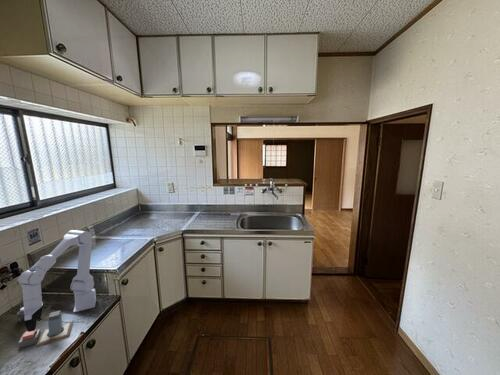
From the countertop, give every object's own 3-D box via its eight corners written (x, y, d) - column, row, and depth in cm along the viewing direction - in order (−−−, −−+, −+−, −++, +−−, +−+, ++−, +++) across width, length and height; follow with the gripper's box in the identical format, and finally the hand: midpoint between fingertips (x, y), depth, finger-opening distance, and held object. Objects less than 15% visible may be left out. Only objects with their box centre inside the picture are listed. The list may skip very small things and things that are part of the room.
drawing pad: (72, 322, 109) (72, 320, 108) (69, 336, 100) (68, 334, 100) (43, 331, 103) (43, 329, 103) (36, 346, 94) (36, 344, 94)
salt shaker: (23, 322, 108) (21, 300, 106) (14, 320, 109) (12, 298, 107) (36, 314, 113) (35, 293, 112) (28, 313, 114) (26, 291, 113)
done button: (36, 332, 99) (36, 328, 99) (34, 338, 96) (33, 333, 96) (25, 335, 97) (25, 331, 97) (22, 341, 94) (22, 337, 94)
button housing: (40, 334, 101) (40, 329, 101) (36, 342, 96) (36, 337, 96) (23, 339, 98) (23, 333, 98) (18, 348, 93) (18, 342, 93)
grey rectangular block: (62, 327, 104) (61, 309, 103) (60, 332, 101) (59, 314, 100) (51, 330, 102) (50, 312, 101) (49, 336, 99) (47, 317, 98)
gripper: (25, 290, 100) (27, 318, 101) (13, 309, 87) (15, 339, 89) (46, 286, 103) (48, 313, 105) (36, 303, 91) (39, 333, 93)
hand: (34, 325), depth 97 cm, fingers open, 7 cm apart
